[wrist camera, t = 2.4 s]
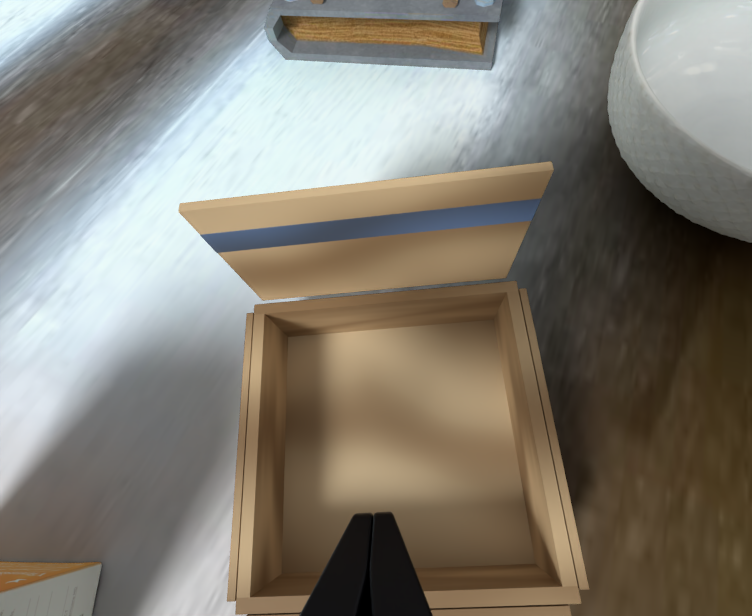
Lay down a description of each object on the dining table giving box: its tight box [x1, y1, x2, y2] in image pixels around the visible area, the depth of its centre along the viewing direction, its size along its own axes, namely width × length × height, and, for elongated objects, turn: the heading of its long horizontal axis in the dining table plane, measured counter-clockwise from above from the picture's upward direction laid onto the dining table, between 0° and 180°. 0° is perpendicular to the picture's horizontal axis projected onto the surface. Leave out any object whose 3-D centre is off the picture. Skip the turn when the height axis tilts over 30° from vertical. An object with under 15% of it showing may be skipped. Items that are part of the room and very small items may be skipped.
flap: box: [179, 161, 554, 300], centre depth 15 cm, size 7×11×1 cm
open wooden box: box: [227, 281, 589, 616], centre depth 18 cm, size 12×13×4 cm
